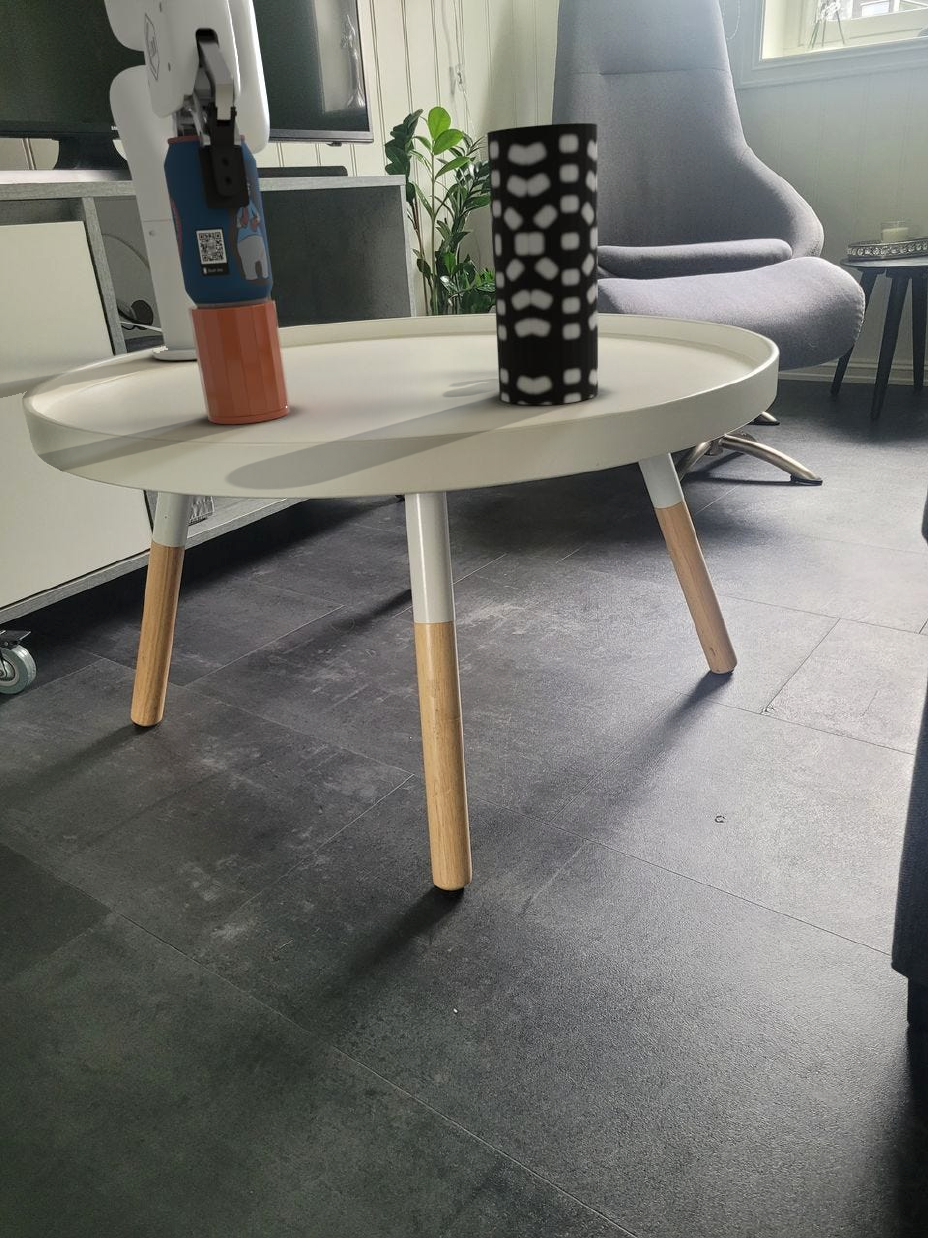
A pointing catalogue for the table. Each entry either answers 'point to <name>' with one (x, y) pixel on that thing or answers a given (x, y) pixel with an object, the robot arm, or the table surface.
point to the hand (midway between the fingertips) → (216, 207)
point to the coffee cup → (240, 362)
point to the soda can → (217, 233)
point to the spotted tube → (545, 261)
